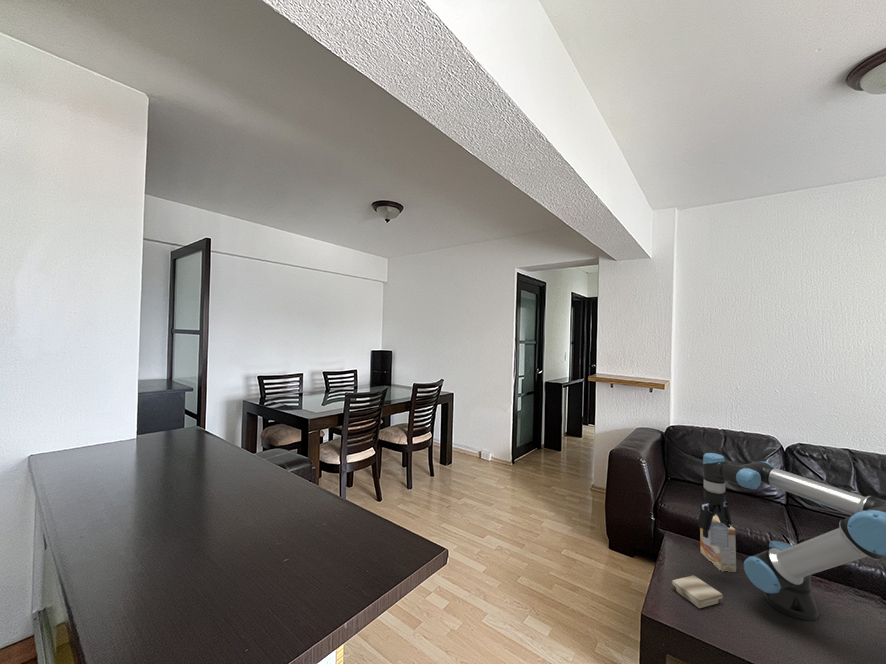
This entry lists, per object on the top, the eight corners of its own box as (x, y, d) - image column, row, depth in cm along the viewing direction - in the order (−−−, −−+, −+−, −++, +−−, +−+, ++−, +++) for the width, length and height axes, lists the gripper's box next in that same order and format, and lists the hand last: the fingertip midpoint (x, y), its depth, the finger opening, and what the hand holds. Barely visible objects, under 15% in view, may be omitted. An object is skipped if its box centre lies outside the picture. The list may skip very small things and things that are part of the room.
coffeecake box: (699, 552, 176) (699, 512, 177) (715, 553, 175) (714, 513, 176) (720, 571, 161) (719, 528, 162) (737, 572, 160) (736, 528, 161)
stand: (722, 604, 141) (722, 594, 141) (699, 610, 137) (699, 600, 138) (693, 584, 152) (693, 575, 152) (672, 590, 149) (672, 580, 149)
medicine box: (724, 542, 154) (724, 522, 154) (729, 548, 150) (728, 527, 150) (703, 539, 157) (702, 519, 157) (706, 544, 153) (706, 524, 153)
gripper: (723, 484, 161) (724, 534, 160) (687, 489, 155) (688, 542, 154) (741, 490, 154) (742, 543, 153) (704, 496, 148) (705, 552, 147)
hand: (715, 543), depth 154 cm, fingers closed on medicine box, 9 cm apart
